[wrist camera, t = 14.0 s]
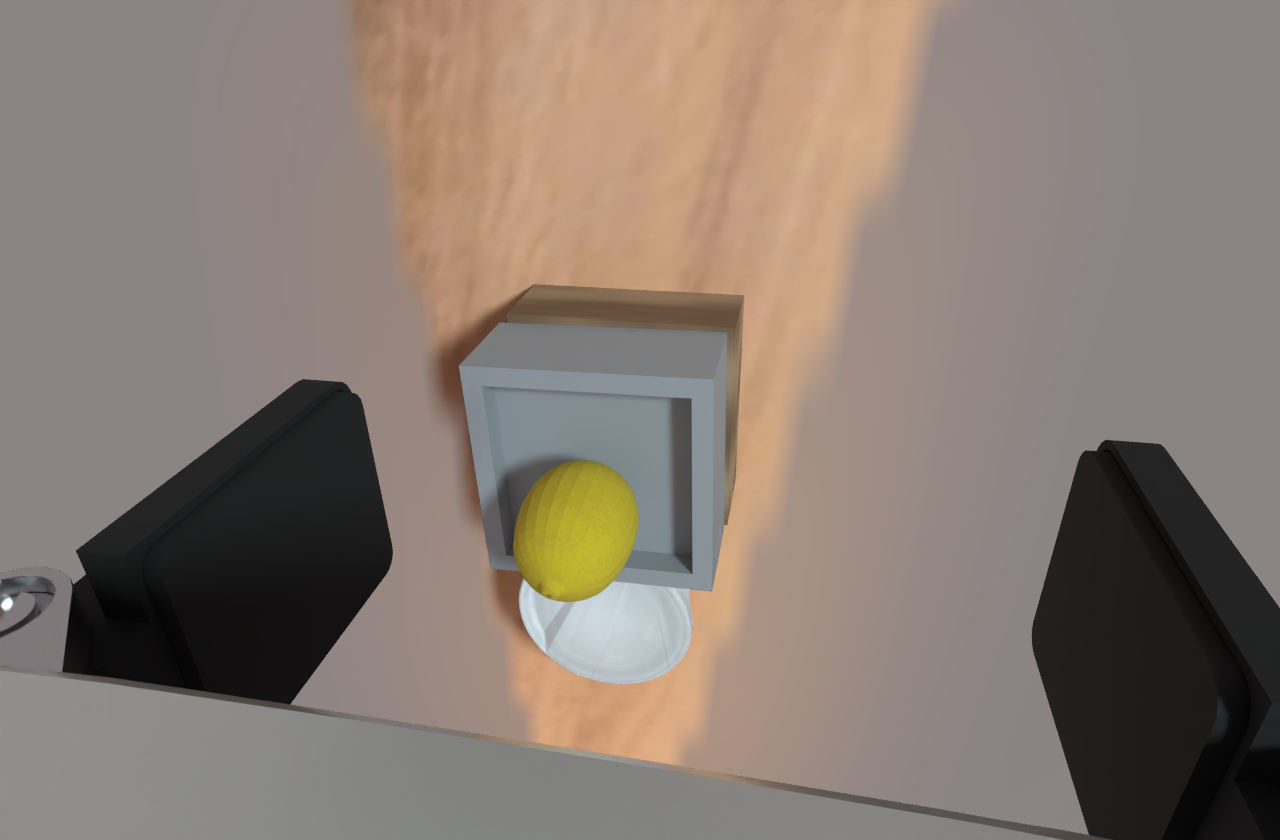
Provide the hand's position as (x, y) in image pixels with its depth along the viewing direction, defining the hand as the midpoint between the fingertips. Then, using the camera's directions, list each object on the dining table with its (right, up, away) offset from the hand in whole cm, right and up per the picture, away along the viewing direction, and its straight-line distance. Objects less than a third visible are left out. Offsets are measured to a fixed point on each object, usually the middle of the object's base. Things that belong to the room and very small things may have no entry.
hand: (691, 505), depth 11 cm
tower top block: (-2, +1, +33) cm, 34 cm away
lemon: (-3, -1, +30) cm, 30 cm away
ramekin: (-2, -9, +45) cm, 45 cm away
